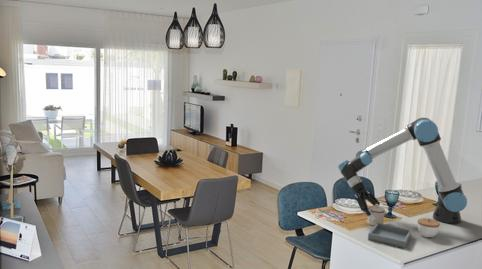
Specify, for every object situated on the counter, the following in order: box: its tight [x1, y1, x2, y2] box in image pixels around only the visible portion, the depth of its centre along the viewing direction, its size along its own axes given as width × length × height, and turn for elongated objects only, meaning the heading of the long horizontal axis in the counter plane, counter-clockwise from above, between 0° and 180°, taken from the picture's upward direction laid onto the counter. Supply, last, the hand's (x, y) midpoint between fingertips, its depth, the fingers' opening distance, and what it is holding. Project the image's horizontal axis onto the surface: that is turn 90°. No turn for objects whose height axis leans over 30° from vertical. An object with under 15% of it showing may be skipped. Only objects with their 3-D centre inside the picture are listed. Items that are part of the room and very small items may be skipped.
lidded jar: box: [417, 217, 441, 238], centre depth 222 cm, size 11×11×9 cm
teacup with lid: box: [363, 204, 386, 227], centre depth 238 cm, size 12×9×12 cm
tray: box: [367, 223, 413, 249], centre depth 217 cm, size 18×18×4 cm
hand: (378, 218), depth 235 cm, fingers closed on teacup with lid, 9 cm apart
